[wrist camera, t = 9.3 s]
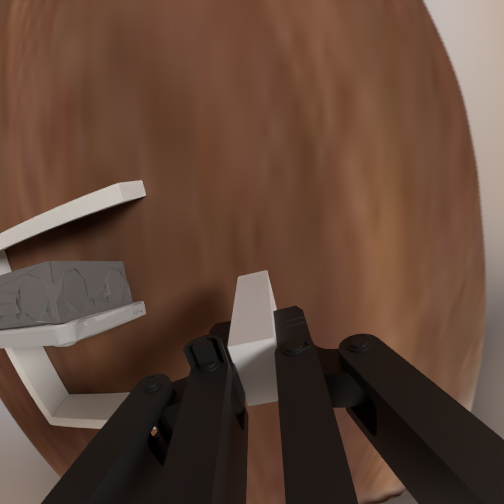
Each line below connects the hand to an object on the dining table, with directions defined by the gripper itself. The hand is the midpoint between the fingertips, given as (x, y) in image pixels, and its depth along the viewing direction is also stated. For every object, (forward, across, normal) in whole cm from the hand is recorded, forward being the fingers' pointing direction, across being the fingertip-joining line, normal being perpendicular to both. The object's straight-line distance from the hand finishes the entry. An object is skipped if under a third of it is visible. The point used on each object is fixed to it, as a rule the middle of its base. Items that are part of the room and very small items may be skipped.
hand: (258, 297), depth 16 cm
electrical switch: (+4, -12, +2) cm, 13 cm away
